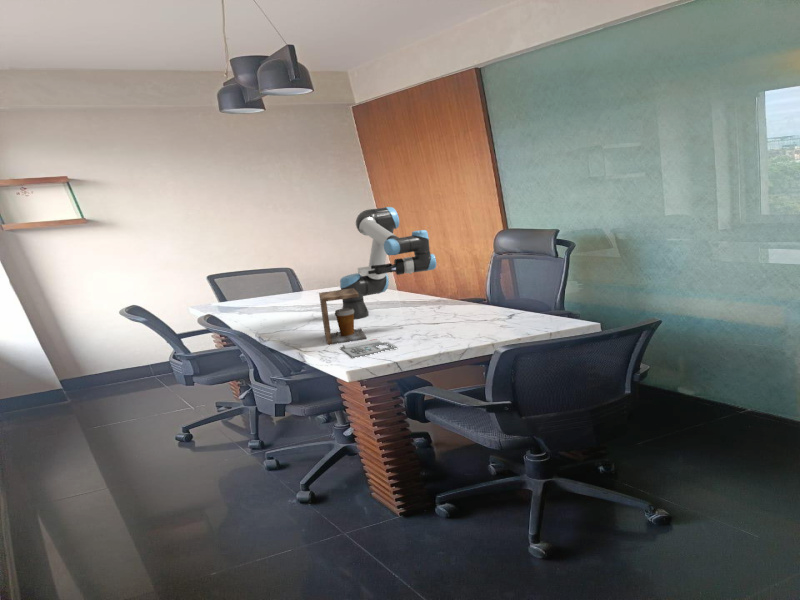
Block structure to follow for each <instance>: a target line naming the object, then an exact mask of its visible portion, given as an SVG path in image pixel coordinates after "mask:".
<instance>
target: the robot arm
mask: <svg viewBox="0 0 800 600" xmlns="http://www.w3.org/2000/svg"><path fill="white" fill-rule="evenodd" d="M355 226H356V227H355V228H356V229H357V231H358V232H359V233H360V234H361V235H363V236H365V237H366V236H367V237H369V238H370V239H372V242H371V248H370V253H369V254H370V256H369V262H368V266H363V267H357V272H356V273H351V274H347V275H344V276H342V277H341V278H340V280H339V284H340V285H339V288H340V290H343V289H350V288H354V289H355V290H356V291H357V292H358V293H359V297H354V298H347V299H341V300H342V307H341V309H344V308H353V309H354V311H355V312H354V320H357V319H362V318H366V317H368V316H369V310H368V307H367V306H366V304H365V302H364V301H365V300H364V297H366V296H372V295H379V294H381V293H385V292H386V291H387V290H388V287H389V283H390V281H389V276H388V274H387V273H393V272H395V274H396V275H397V276H400V275H404V274H409V275H412V273H421V272H427V271H432V270H435V269H436V267H437V259H436V255H435V254H434V253H431V249H430V239H429V233H428V231H427V230H425V229H421V230H414V231H411V235H408V236H402V237H399V236H397V235H395V234H394V230H396V229H398V228H399V227H400V218H399V214H398V212H397V210H396V209H395V208H394V207H392V206H387V207H386V206H384V207H379V208H372V209H371V208H369V209H365V210H362V211H361V212H360V213H359V214H358V215H357V217H356V219H355ZM412 252H413V255H414V256H409V257H403V258H395V259H394V261H393V263H394V264H393V263H386V260H387V256H397V255H400V254H401V255H402V254H408V253H412Z"/></svg>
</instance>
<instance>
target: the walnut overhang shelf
mask: <svg viewBox="0 0 800 600" xmlns="http://www.w3.org/2000/svg"><path fill="white" fill-rule="evenodd" d="M318 295H319V301H320V309H321V315H322V322H323V330H324V331H323V332H324V337H325V341H326V343H327V346H330V344H331V345H337V343H338V344H343V343H350V341H351V342H358V341H365V340H367V338H368V337H367V335H366V334H365V333H364V331H363V330H362V328H357V329H355V328H354V334H352V335H349V336H341V333H340V331H339V332H338V331H336V332H331V326H330V325H331V324H330V319H329V313H328V312H329V311H328V310H329V309H328V304H327V303H328V302H331V301H338V300H342V299H347V298H354V297H359V293H358V292H357V291H356V290H355V289H354V288H350V289H343V290H341V289H338V290H332V291H331V290H329V291H324V292H319V293H318Z"/></svg>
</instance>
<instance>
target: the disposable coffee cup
mask: <svg viewBox="0 0 800 600" xmlns="http://www.w3.org/2000/svg"><path fill="white" fill-rule="evenodd" d="M334 312H335V313H334V316H335V319H336V321H337V325H338V329H339V332H340V333H341V336H349V335H352V334H354V330H355V319H354V312H355V311H354V309H353V308H344V309H342V308H339V309H336V310H335V311H334Z"/></svg>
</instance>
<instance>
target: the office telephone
mask: <svg viewBox="0 0 800 600" xmlns="http://www.w3.org/2000/svg"><path fill="white" fill-rule="evenodd" d="M384 344H388V345H390V346H392V347H390V346H388V345H387V346H388V347H385V348H380V346H379V345H382V346H385V345H384ZM376 346H377V347H376ZM340 348H341V349H340ZM394 348H397V349H398V346H397V345H395V344H393V343H392V342H389V341H383V342H382V341H380V340H379V339H378V338H373V339H368V340H363V341H359V342H358V341H357V342H354V343H348V344H343V345H342V346H340V347H339V349H340V350H341V351H343V352H344V351H345V352H344V353H346V354H347V353H348V354H347V355H349V356H350V357H351V358H352V357H353V358H352V359H356V358H355V357H357V358H361V357H360V356H362V357H366V356H365V355H367V356H371V355H370V354H372V355H375V354H374V353H377V354H379V353H378V352H380V353H382V352H381V351H384V352H386V351H385V350H389V351H391V350H390V349H394Z"/></svg>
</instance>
